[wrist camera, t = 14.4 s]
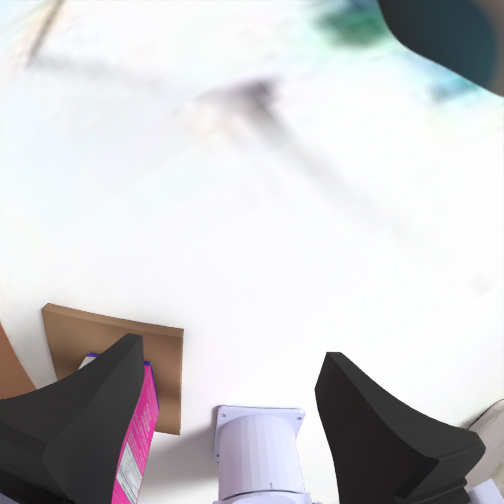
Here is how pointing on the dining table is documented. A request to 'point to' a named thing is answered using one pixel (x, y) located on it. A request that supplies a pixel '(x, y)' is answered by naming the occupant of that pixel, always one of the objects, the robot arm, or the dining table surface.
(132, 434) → the supplement box
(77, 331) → the cardboard square
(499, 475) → the ceramic pitcher
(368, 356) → the dining table surface
